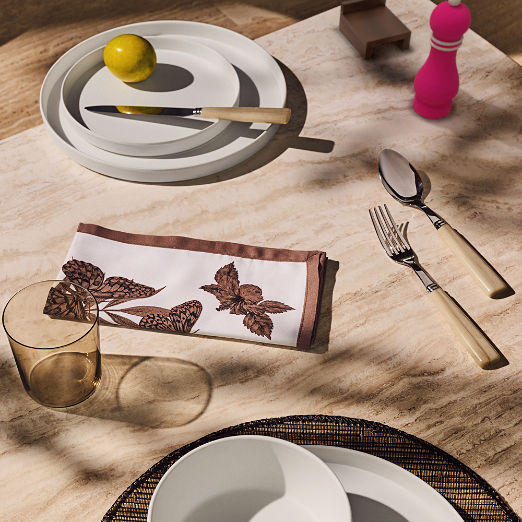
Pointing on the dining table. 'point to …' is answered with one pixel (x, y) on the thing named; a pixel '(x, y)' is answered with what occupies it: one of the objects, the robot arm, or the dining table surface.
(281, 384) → the dining table surface
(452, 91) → the pepper mill
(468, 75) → the dining table surface
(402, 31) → the shelf
